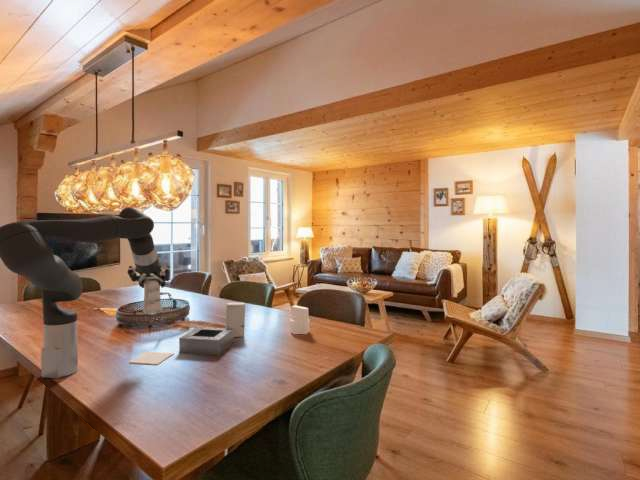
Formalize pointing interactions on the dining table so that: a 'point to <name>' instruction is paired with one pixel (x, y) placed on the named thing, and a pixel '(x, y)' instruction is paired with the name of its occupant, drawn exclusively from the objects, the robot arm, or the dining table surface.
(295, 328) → the cylinder with rectangular tab
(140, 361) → the rubber mat
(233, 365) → the dining table surface
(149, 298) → the plastic bottle
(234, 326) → the skincare box
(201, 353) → the housing block
